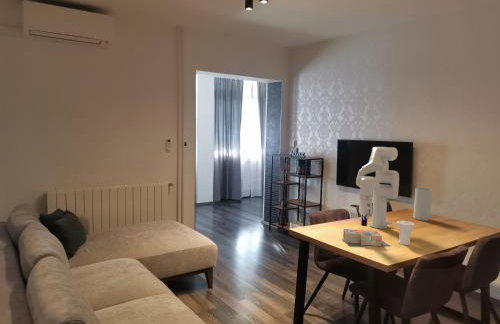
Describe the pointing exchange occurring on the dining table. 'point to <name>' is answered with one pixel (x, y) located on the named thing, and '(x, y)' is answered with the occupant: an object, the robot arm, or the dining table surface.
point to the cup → (405, 231)
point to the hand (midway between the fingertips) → (364, 225)
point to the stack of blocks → (362, 237)
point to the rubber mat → (366, 245)
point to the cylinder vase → (422, 204)
